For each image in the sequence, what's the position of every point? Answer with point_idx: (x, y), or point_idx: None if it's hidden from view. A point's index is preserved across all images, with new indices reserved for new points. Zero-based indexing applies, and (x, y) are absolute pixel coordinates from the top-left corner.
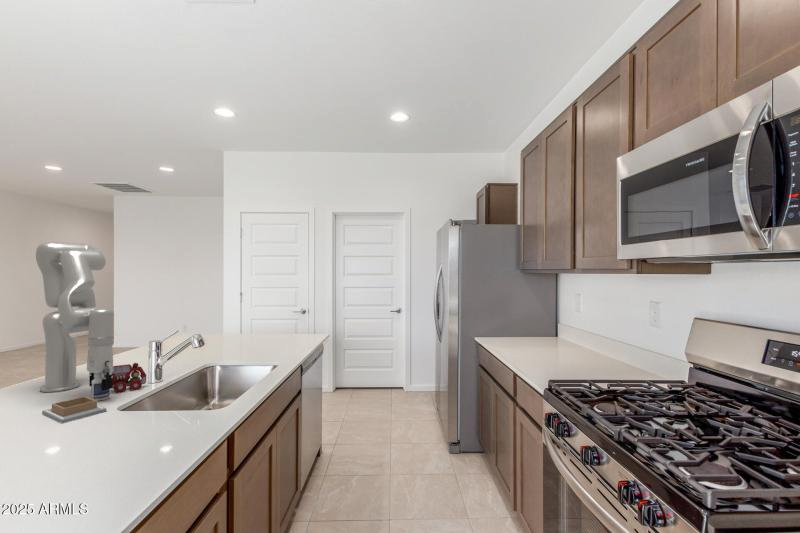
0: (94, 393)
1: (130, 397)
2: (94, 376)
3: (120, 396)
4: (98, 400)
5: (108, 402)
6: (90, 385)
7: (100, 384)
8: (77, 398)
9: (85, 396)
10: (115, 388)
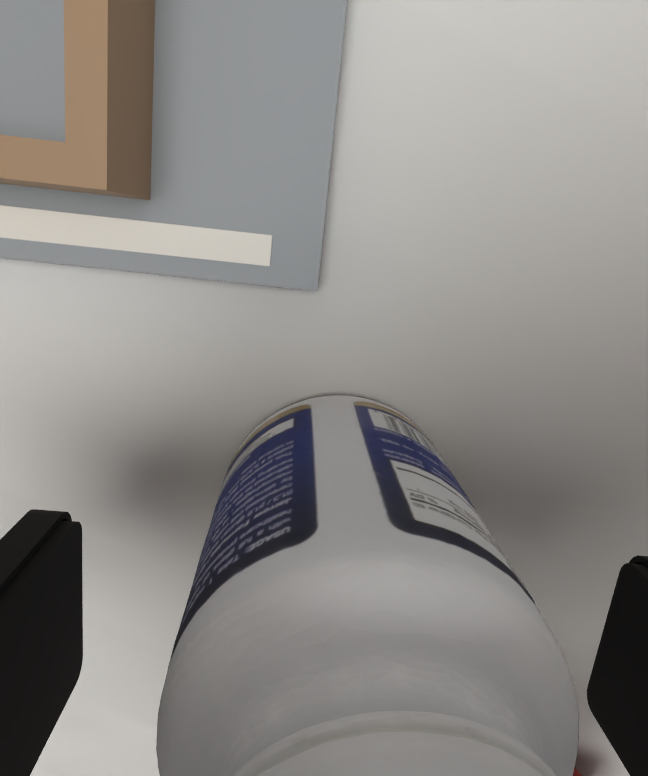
0: (291, 441)
1: None
2: (427, 756)
3: None
4: (251, 433)
5: (40, 458)
6: (641, 566)
7: (187, 611)
8: (65, 2)
9: (77, 182)
10: None
